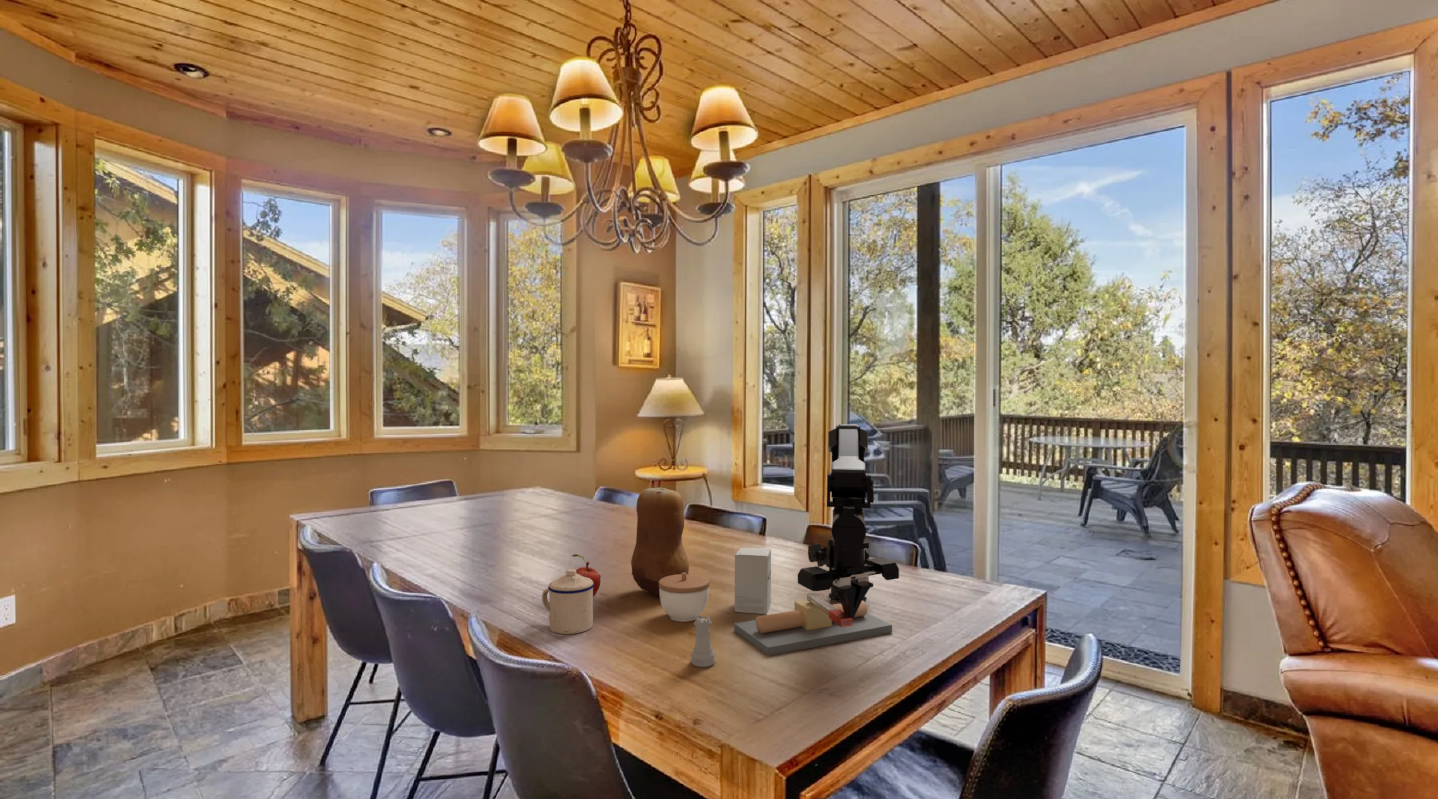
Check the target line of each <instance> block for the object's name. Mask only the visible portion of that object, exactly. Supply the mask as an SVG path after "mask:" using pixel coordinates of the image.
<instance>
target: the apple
mask: <svg viewBox="0 0 1438 799" xmlns="http://www.w3.org/2000/svg"><path fill="white" fill-rule="evenodd" d="M571 557H573V558H574V557H576V558H577V557H580V558H581V559H582V560H583V561H584V562H585V564H586V565H585V566H581V567H578V568H577V569H575V570H576V574H579V575H581V576H583V577H587V578H590V579H591V580H592V581H593V583H594V587H593V598H594V597H595V596H596V595H597V593H598V591H599V588H600V587H601V576H602V575H600V573H599V572H598V571H597V570H596V569H594V568H592V567H589V565H590V561H588V560H587V561H585V557H584V556H582V555H581V554H580V555H579V554H577V553H575V554H573V555H571Z"/></svg>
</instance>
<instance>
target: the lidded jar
mask: <svg viewBox="0 0 1438 799" xmlns="http://www.w3.org/2000/svg"><path fill="white" fill-rule="evenodd" d="M709 589H710V580H709V578H708V577H705V576H702V575H699V574H689V573H688V574H686V573H682V574H677V575H671V576H667V577H664V578H662V579H660V580H659V594H660V596H659V599H660V605H661V608H662V610H663V611H664V612H665V614H666V615H668V617H669V618H670V620H672V621H674V620H675V621H674V622H678V621H679V622H681V623H687V622H692V621H696V617H699V618H700V616H701V615H702V614H703V612H704V611H705V609H706V608H707V607H706V606H707V605H708V601H709V592H710V590H709ZM679 622H678V623H679Z"/></svg>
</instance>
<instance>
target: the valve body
mask: <svg viewBox="0 0 1438 799" xmlns="http://www.w3.org/2000/svg"><path fill="white" fill-rule="evenodd" d="M831 605H832V606H833V607H835V608H836V609H840V610H842V611H843V612H844V610H843V607H842V605H841V602H840V603H833V604H831ZM867 606H868V605H867V604H866V603H865V600H862V602H861V604H860V606H859V608H858V610H857V612H856V614H855V616H854V618H853V620H852V626H847V627H840V626H839V625H838V624H836V623H835V622H834V621H832V620H831V619H830V618H829V616H828V615H827V614H826V613H824V612H823V611H822V610H821V609H819V608H818V607H817V606H815V605H814V604H813V603H811V602H809V601H807V599H802V600H796V601H794V610H791V611H790V610H789V611H784V612H783V611H782V612H778V613H771V614H762V615H758V616H756V618H755V619H753V620H747V621H739V622H735V623H733V624H734V626H733V628H734V632H735V633H736V634H738V635H739V636H740V637H742V638H744V639H745V640H746V641H747V642H749V643H750V644H751V645H753V646H754V647H756V648H757V649H759V650H760V652H761V651H762V652H763V654H765V655H766V656H769V657H770V656H774V655H775V656H776V655H778V654H779V655H781V654H784V653H790V652H795V651H799V650H805V649H806V650H807V649H812V648H817V647H821V646H827V645H833V644H837V643H842V642H843V643H844V642H849V641H853V640H854V641H855V640H861V639H864V638H869V637H875V636H881V635H885V634H891V633H890V632H892V633H893V624H891V623H889V622H888V621H885V620H883V619H881V618H879V617H877V616H875V615H872V614H870V613H868V607H867Z"/></svg>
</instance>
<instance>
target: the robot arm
mask: <svg viewBox="0 0 1438 799" xmlns="http://www.w3.org/2000/svg"><path fill="white" fill-rule="evenodd" d="M827 434H828V435H827V436H828V437H827V438H828V442H827V444H828V445H827V446H828V448H827V449H828V453H831V470H830V472H827V480H826V482H827V483H826V491H827V492H826V507H827V508H833V509H832V522H831V523H832V524H831V536H832V538H829V539H828V540H827V547H822V545H821V544H820V543H815V544H810V545H808V546H807V547H808V548H807V556H808V557H807V558H808V561H809V562H810V563H816V564H817V565H815V566H810V567H809V566H808V567H803V568H802V567H801V568H800V569H799V571H798V573H797V584H798V585H800V586H802V587H804V588H805V589H808V590H809V591H812V592H822V591H828V590H830V592H829V593H828V596H829V597H830V598H833V599H834V600H837V601H838V602H840V603H841V605H842V607H843V610H844V612H845V613H846V614H847V615H849V616H850V617H852V620H853V618H854V616H855V614H856V612H857V610H858V608H859V606H860V604H861V602H862V600H863V601H865V600H868V598H867V597H866V595H867V594H868V592H869V590H870V588H874V583H873V582H871V581H870V578H869V576H876V575H881V577H882V578H883V579H884V580H886V581H890V580H891V581H892V580H898V579H900V568H899V566H898V564H897V563H896V562H894V561H893V560H889V559H886V558H884V557H874V558H870V553H868V551H867V549H870V542H869V541H868V542H867V541H865V539H866V535H867V529H866V528H867V527H866V522H865V510H864V509H871V508H872V507H871V505H872V504H874V503H875V502H874V500H875V495H874V494H875V493H874V480H873V478H872V475H871V473H867V467H866V463H865V454H867V453H868V452H869V451H868V450H869V444H868V443H869V440H868V439H869V434H868V431H866V430H864V429H862V428H861V425H858V424H856V423H855V424H853V423H850V424H848V423H844V424H841V423H839V424H838V425H837V424H836V425H835V428H833V429H831V430H830V431H828V433H827ZM824 566H825V567H826V568H828V570H826V569H824V568H822V567H824Z"/></svg>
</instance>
